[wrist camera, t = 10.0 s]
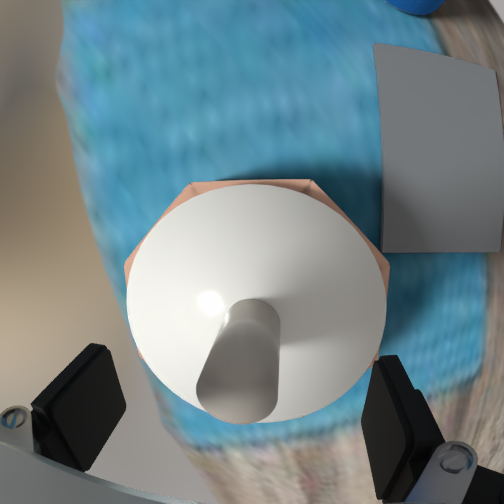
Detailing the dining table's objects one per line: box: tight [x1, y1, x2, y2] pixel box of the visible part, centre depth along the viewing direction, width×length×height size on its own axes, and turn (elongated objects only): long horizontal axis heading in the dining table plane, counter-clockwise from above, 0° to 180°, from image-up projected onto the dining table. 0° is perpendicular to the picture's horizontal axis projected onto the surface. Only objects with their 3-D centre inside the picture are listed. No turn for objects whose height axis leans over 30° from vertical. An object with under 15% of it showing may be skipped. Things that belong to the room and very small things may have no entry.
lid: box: [127, 184, 387, 424], centre depth 14 cm, size 14×14×7 cm
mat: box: [373, 43, 504, 253], centre depth 19 cm, size 15×11×1 cm
